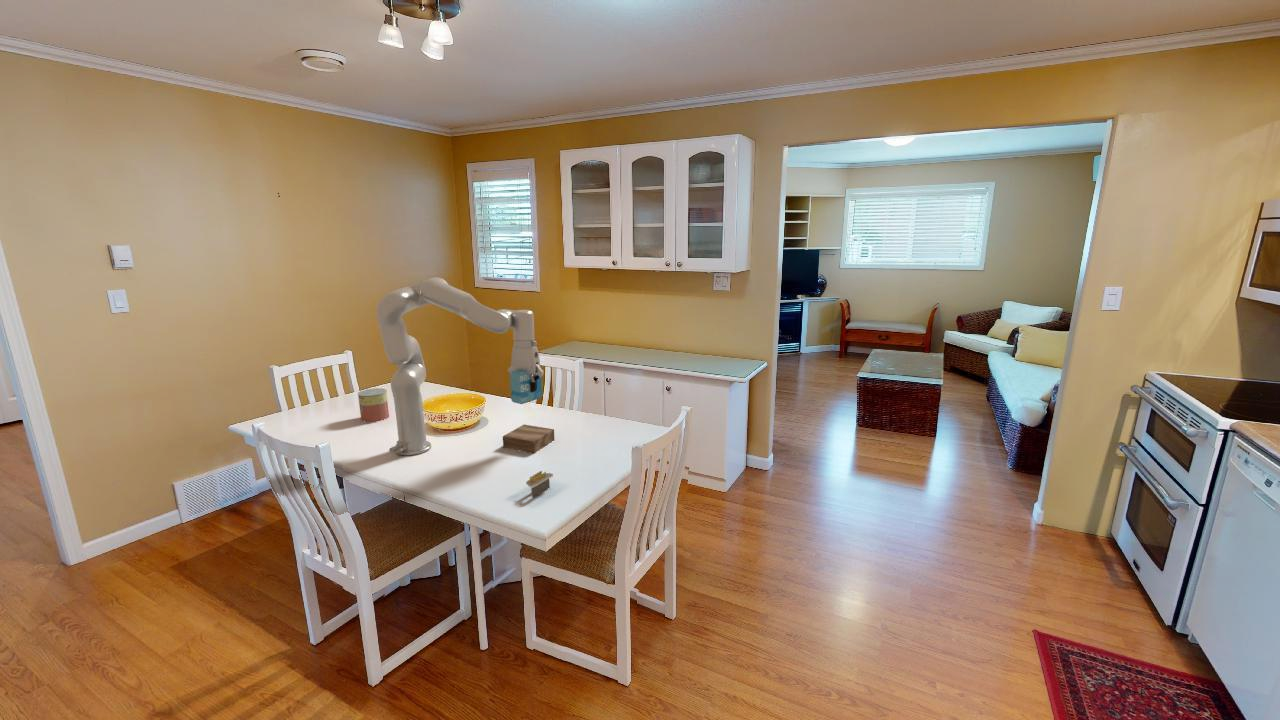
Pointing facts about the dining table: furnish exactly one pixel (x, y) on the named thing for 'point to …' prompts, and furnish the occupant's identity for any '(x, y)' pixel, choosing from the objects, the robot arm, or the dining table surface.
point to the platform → (539, 482)
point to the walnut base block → (528, 438)
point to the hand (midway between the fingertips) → (526, 390)
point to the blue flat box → (524, 387)
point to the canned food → (373, 405)
